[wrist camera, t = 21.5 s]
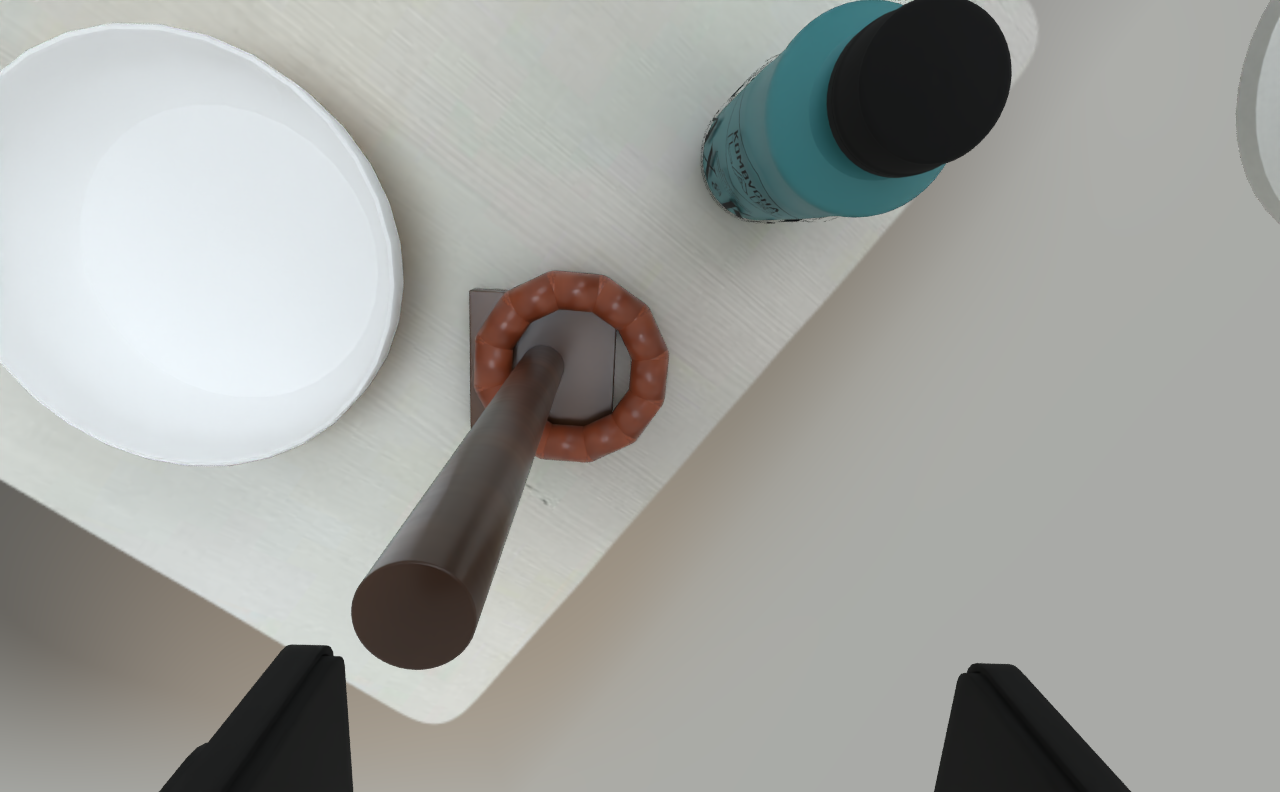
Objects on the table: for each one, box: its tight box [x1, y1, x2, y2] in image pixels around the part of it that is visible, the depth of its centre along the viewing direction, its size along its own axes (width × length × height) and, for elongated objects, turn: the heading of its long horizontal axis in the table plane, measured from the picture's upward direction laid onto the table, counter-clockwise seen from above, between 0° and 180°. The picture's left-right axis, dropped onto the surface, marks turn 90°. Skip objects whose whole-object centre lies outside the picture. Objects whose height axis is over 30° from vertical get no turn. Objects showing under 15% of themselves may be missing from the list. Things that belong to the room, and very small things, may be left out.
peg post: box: [351, 289, 616, 670], centre depth 25 cm, size 8×8×25 cm
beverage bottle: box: [701, 0, 1012, 224], centre depth 25 cm, size 6×7×20 cm
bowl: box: [0, 23, 404, 466], centre depth 32 cm, size 20×20×6 cm
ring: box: [474, 271, 669, 462], centre depth 35 cm, size 10×10×2 cm
